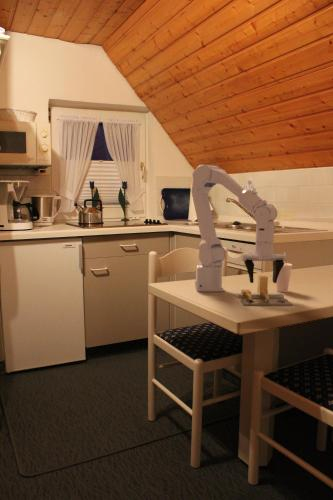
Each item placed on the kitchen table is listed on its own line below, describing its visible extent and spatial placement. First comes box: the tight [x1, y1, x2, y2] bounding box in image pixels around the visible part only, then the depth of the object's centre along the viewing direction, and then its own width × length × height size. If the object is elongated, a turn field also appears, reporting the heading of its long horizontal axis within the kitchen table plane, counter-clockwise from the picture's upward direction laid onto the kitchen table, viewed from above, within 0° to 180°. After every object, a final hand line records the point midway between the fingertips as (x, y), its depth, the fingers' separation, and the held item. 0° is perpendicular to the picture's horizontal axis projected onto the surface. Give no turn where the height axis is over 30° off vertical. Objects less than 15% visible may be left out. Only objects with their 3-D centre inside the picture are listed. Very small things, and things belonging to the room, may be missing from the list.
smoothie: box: [275, 251, 294, 293], centre depth 148 cm, size 6×6×14 cm
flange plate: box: [240, 298, 293, 307], centre depth 133 cm, size 15×6×1 cm, turn 91°
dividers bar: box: [237, 289, 285, 301], centre depth 137 cm, size 15×9×2 cm, turn 91°
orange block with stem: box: [256, 275, 269, 301], centre depth 137 cm, size 3×9×6 cm, turn 1°
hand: (262, 282), depth 139 cm, fingers open, 7 cm apart
